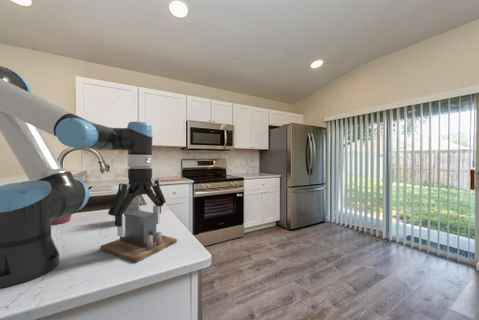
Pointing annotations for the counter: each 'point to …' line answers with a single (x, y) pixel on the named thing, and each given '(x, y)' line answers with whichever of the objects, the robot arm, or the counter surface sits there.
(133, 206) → the coffee box
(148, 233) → the grey square block
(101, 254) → the counter surface
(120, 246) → the pin tray
